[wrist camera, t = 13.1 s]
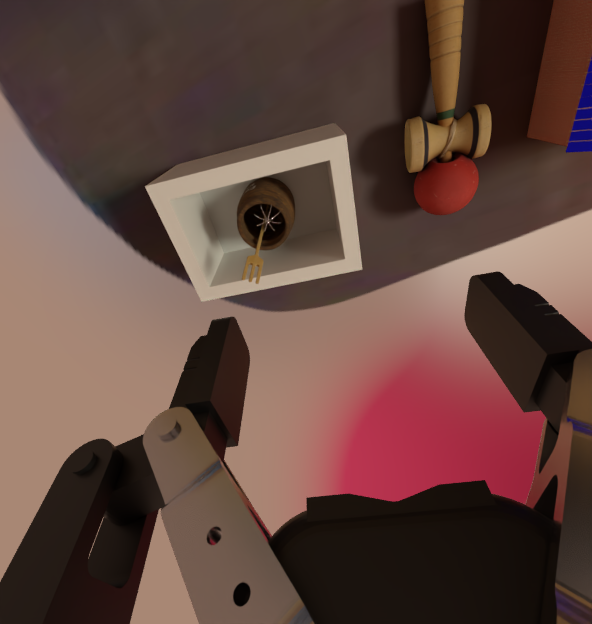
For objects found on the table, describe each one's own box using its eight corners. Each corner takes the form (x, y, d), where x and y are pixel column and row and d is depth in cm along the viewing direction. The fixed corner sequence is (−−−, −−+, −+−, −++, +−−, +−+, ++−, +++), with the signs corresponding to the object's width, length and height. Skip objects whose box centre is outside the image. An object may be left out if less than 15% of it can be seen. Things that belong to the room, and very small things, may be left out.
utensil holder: (302, 184, 34) (304, 224, 24) (286, 237, 37) (282, 290, 28) (248, 167, 33) (228, 201, 23) (237, 223, 36) (215, 273, 27)
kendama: (378, 18, 28) (397, 219, 36) (412, -18, 22) (426, 230, 30) (460, -4, 28) (461, 200, 36) (515, -46, 22) (501, 208, 31)
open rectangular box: (177, 164, 34) (144, 186, 26) (334, 122, 31) (346, 134, 24) (218, 262, 40) (201, 301, 33) (349, 234, 38) (362, 269, 31)
